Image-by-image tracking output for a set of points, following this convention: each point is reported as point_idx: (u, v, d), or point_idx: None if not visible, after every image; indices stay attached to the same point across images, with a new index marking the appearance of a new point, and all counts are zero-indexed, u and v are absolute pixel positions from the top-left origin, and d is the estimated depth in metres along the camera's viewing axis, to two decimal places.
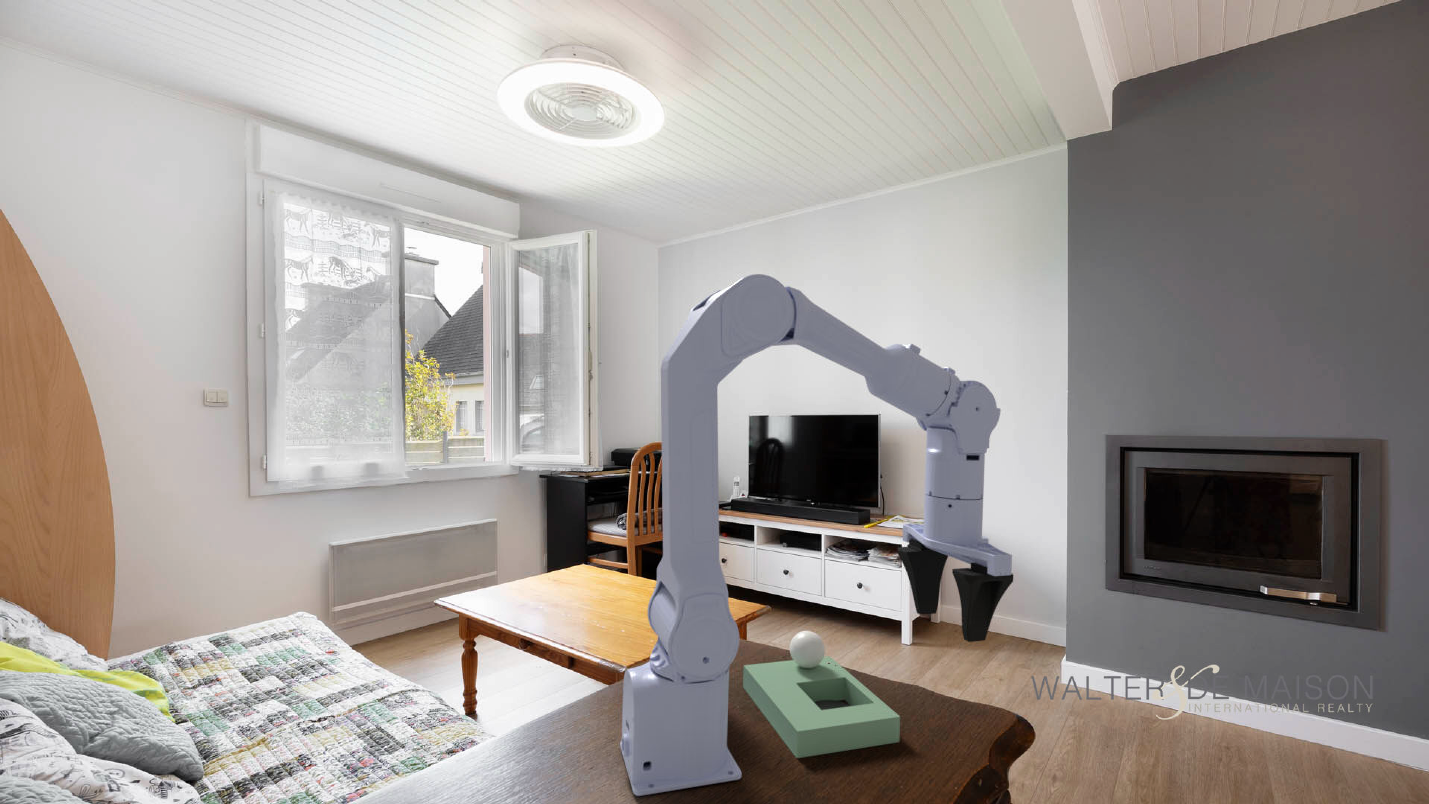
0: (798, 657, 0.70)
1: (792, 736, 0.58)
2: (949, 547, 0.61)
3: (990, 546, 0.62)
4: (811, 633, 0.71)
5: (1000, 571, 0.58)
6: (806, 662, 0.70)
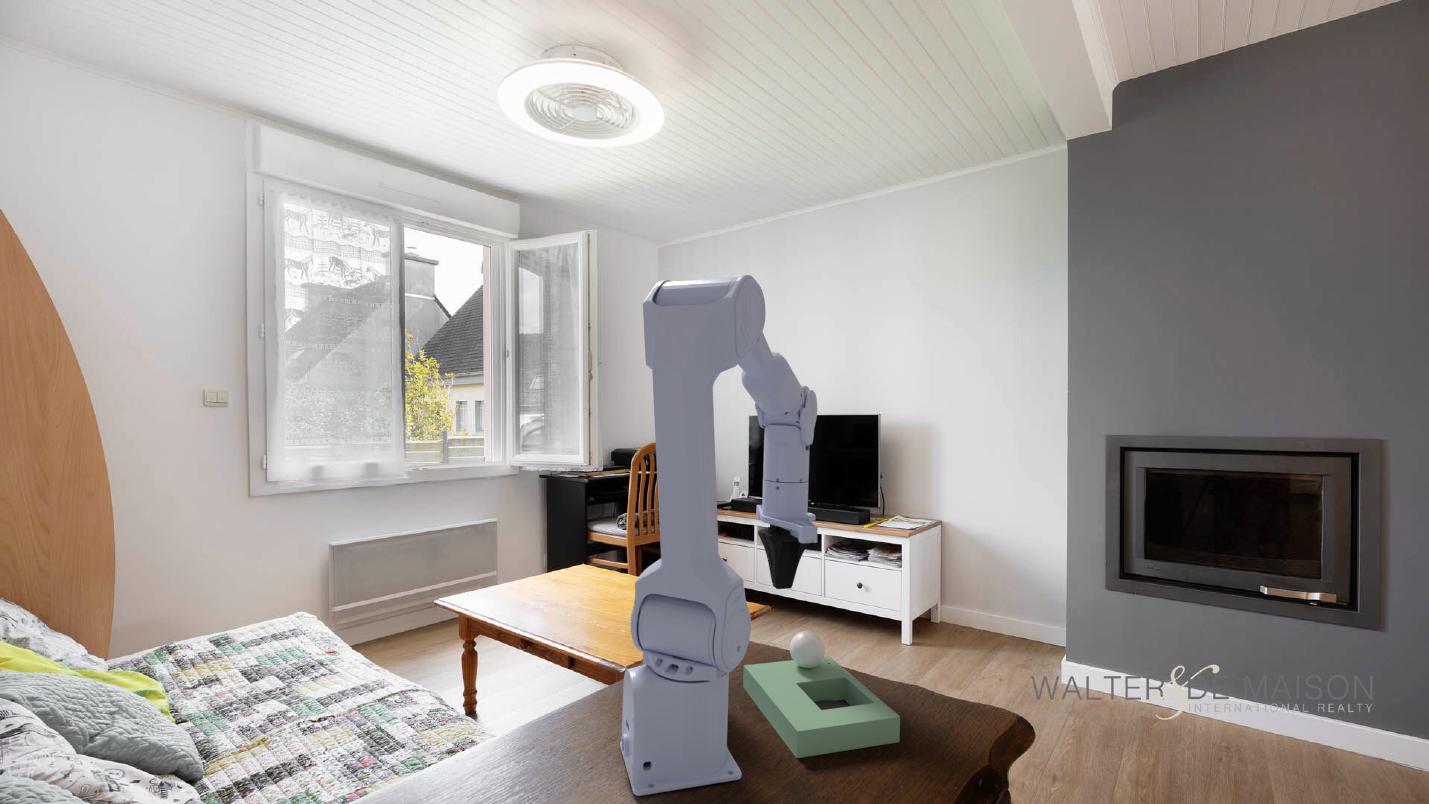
0: (798, 657, 0.70)
1: (792, 736, 0.58)
2: (775, 521, 0.75)
3: (809, 520, 0.76)
4: (811, 633, 0.71)
5: (806, 539, 0.71)
6: (806, 662, 0.70)
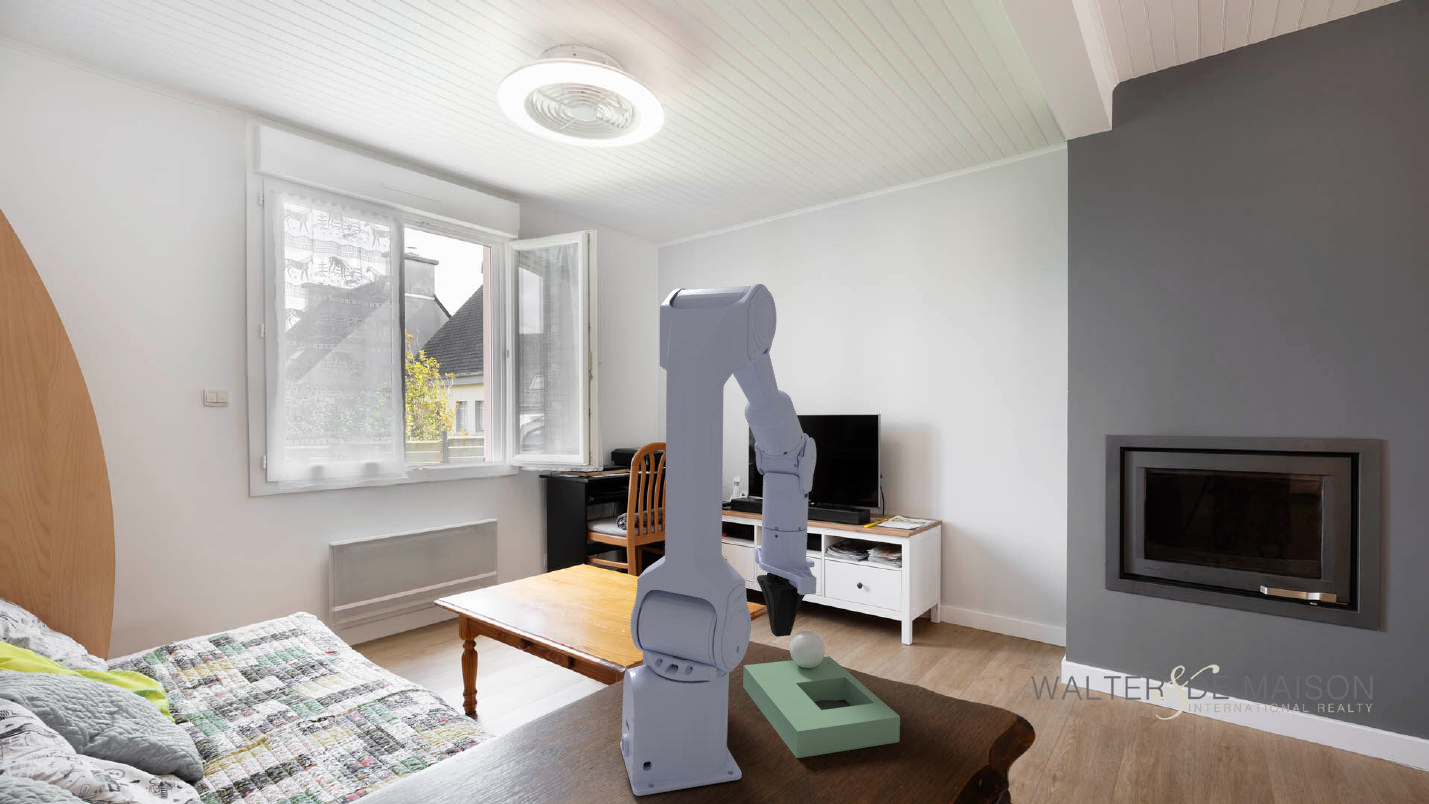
0: (798, 657, 0.70)
1: (792, 736, 0.58)
2: (774, 570, 0.75)
3: (808, 569, 0.75)
4: (811, 633, 0.71)
5: (805, 590, 0.71)
6: (806, 662, 0.70)
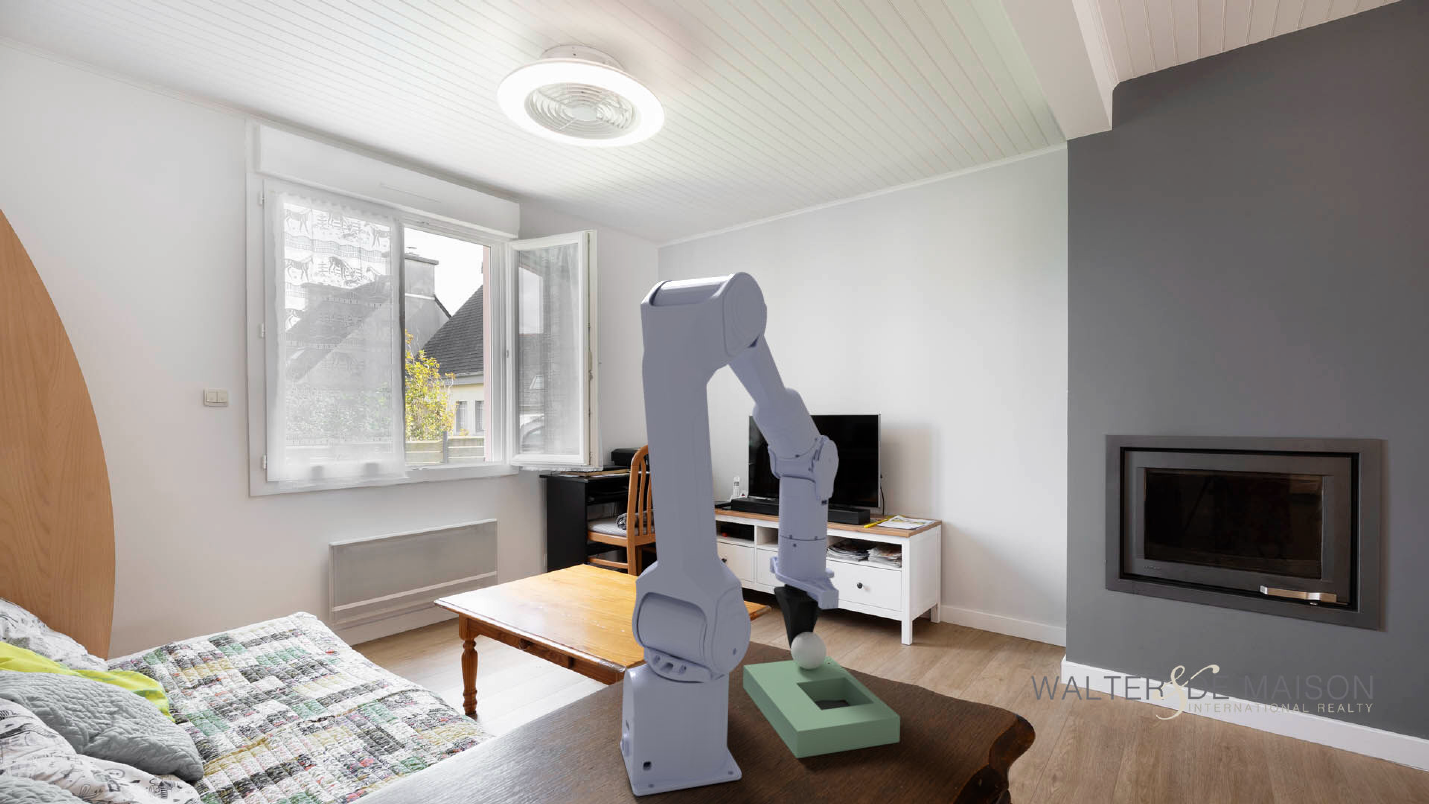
0: (799, 659, 0.70)
1: (792, 736, 0.58)
2: (792, 582, 0.70)
3: (828, 581, 0.71)
4: (814, 635, 0.71)
5: (827, 604, 0.66)
6: (806, 664, 0.69)
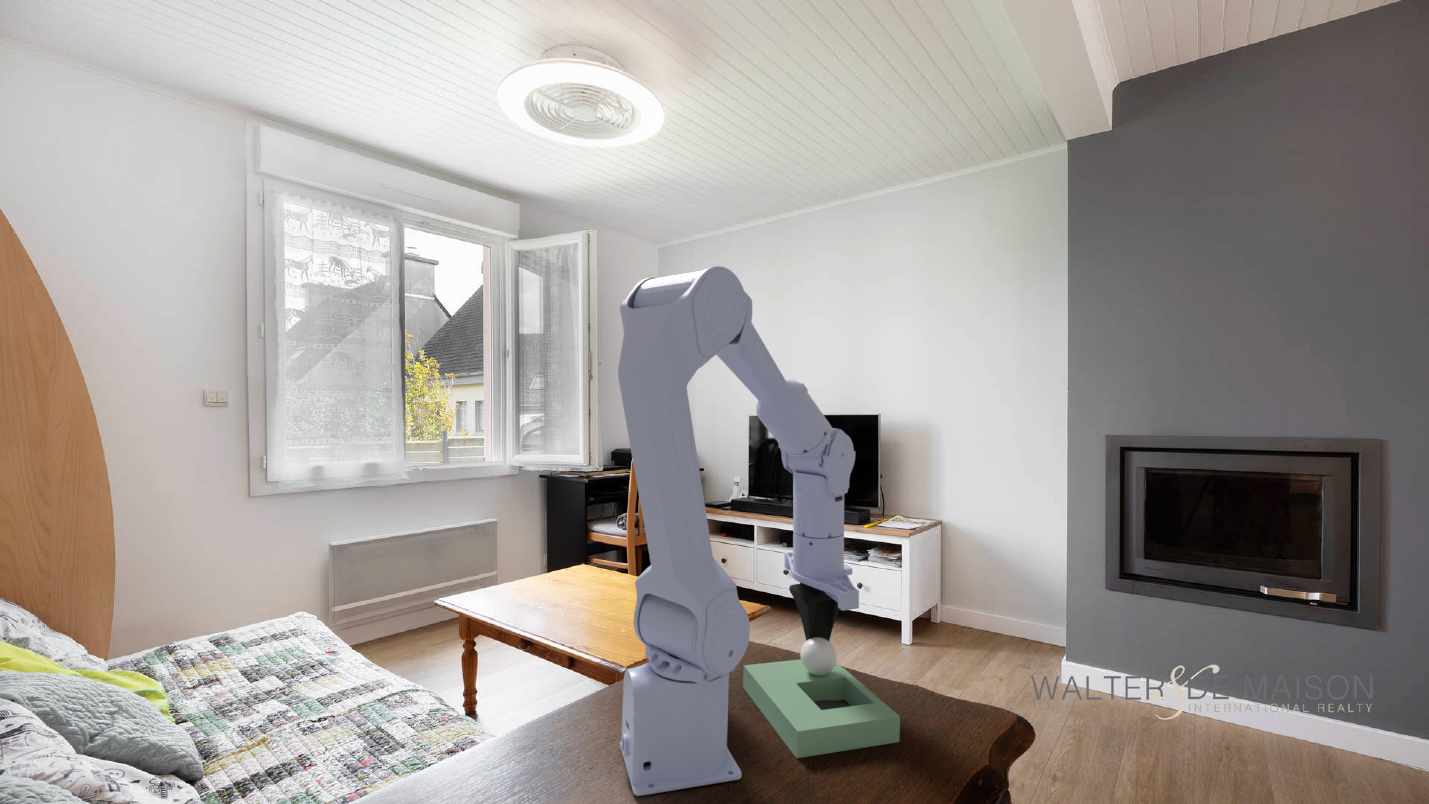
0: (806, 666, 0.69)
1: (792, 736, 0.58)
2: (810, 581, 0.68)
3: (847, 579, 0.68)
4: (830, 655, 0.68)
5: (847, 605, 0.64)
6: None
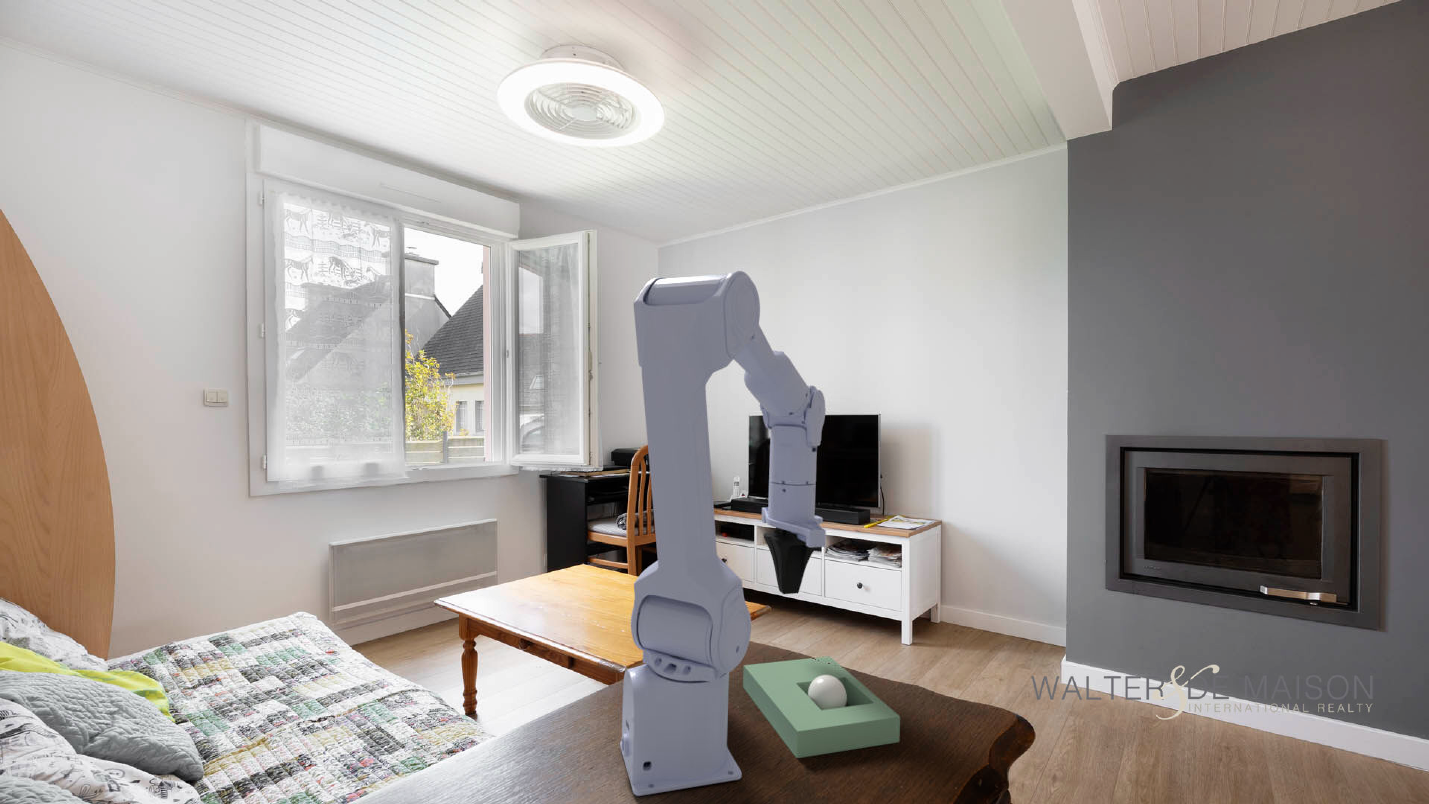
0: (809, 686, 0.66)
1: (792, 736, 0.58)
2: (782, 525, 0.73)
3: (816, 524, 0.74)
4: None
5: (814, 543, 0.70)
6: (815, 679, 0.66)
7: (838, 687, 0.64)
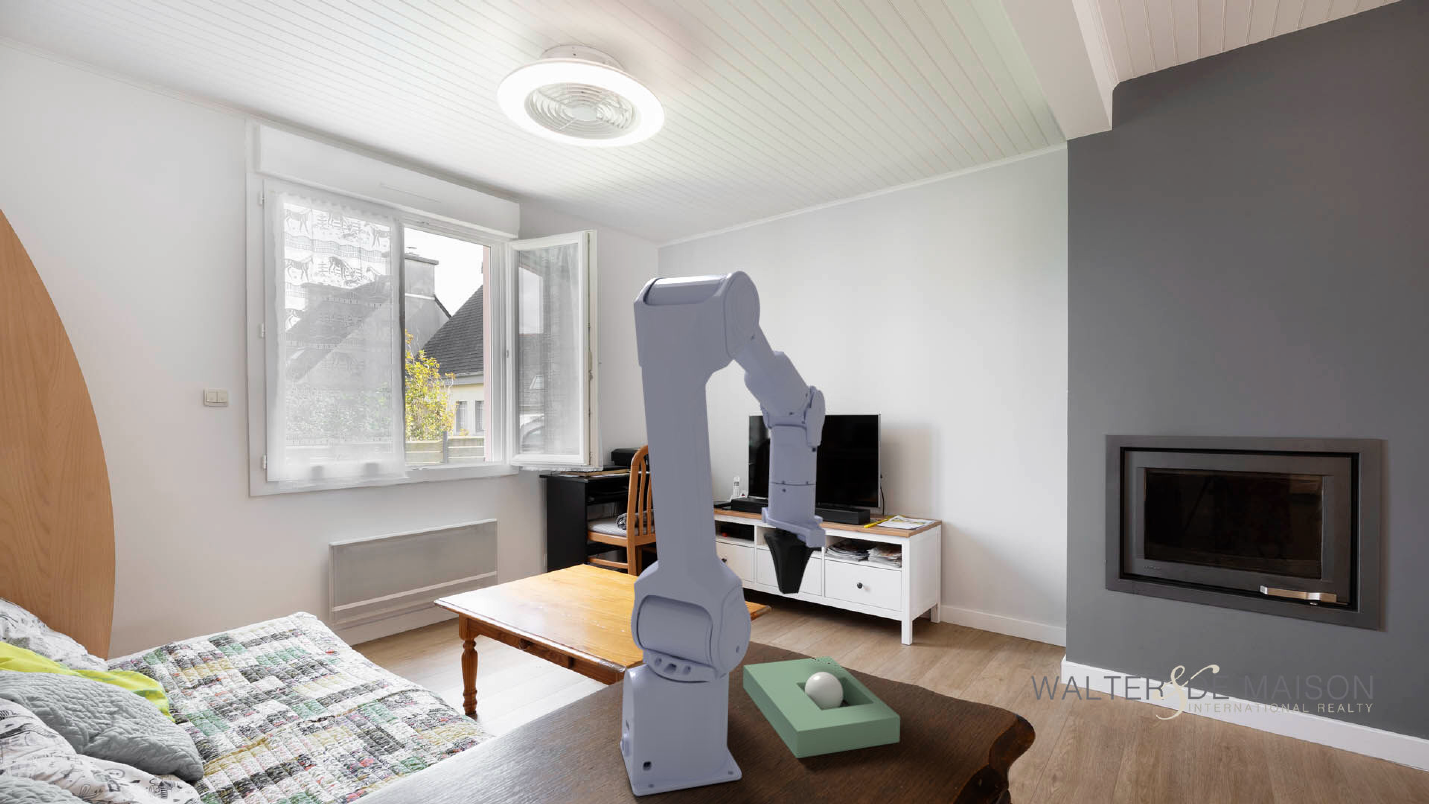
0: None
1: (792, 736, 0.58)
2: (782, 525, 0.73)
3: (816, 524, 0.74)
4: None
5: (814, 543, 0.70)
6: None
7: (832, 678, 0.65)
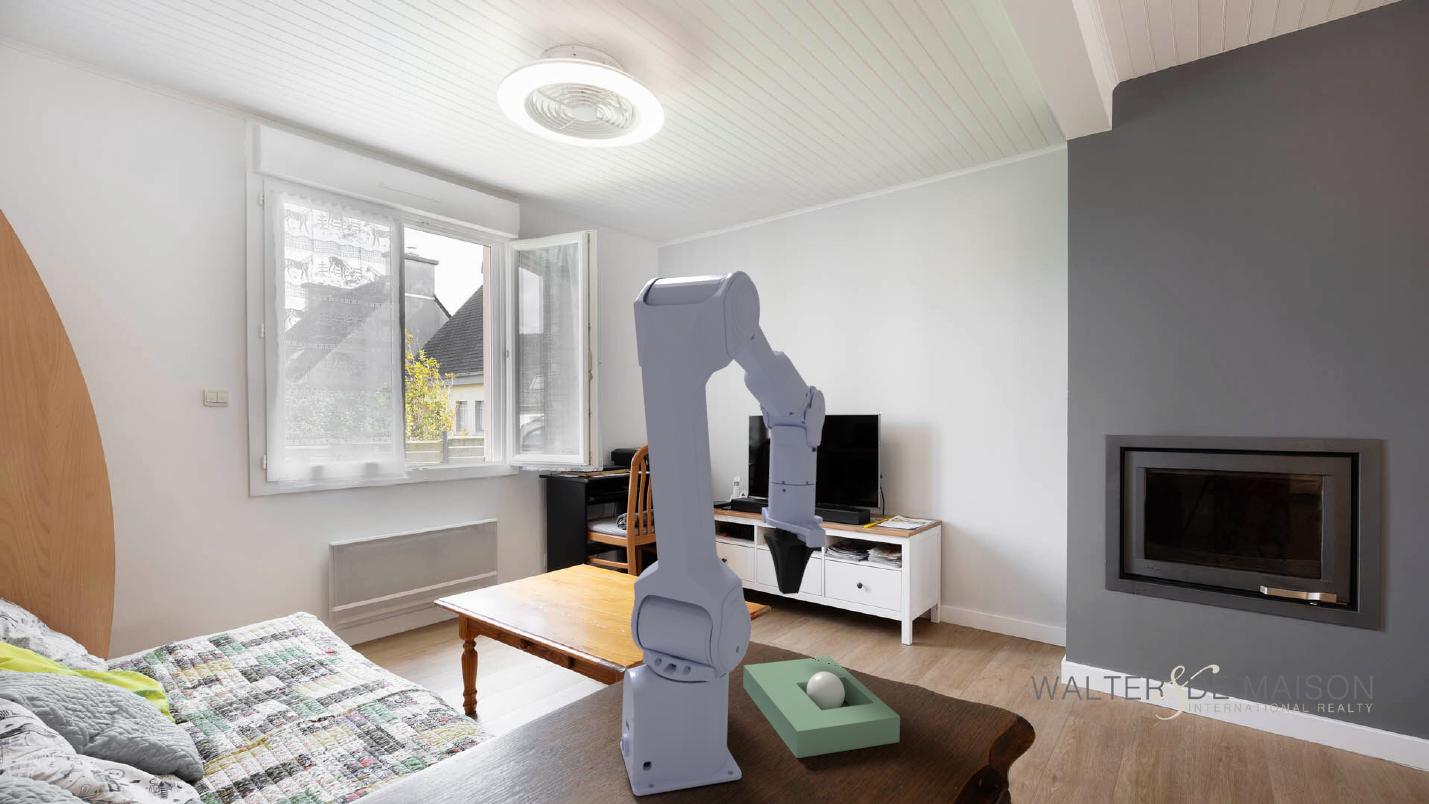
0: None
1: (792, 736, 0.58)
2: (782, 525, 0.73)
3: (816, 524, 0.74)
4: None
5: (814, 543, 0.70)
6: None
7: (835, 677, 0.65)
